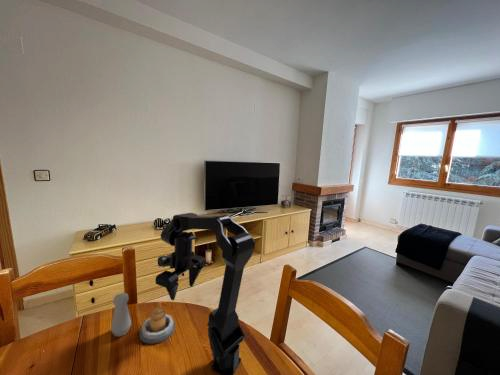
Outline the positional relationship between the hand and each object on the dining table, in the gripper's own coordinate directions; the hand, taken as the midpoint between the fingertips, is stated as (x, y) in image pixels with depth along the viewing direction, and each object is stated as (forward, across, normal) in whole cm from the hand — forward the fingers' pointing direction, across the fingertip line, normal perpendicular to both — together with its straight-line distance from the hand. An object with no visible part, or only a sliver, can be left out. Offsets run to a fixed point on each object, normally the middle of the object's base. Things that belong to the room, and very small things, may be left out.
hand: (182, 292), depth 74 cm
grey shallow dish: (+12, +6, -5) cm, 14 cm away
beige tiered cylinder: (+11, +6, -5) cm, 13 cm away
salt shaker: (+12, +12, -15) cm, 23 cm away
